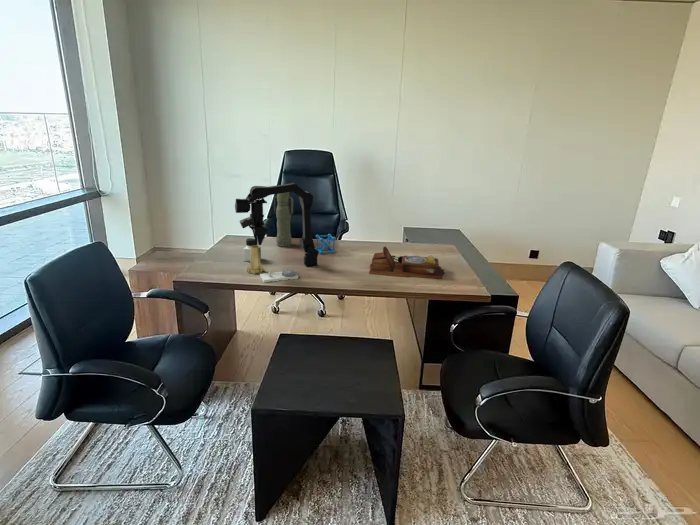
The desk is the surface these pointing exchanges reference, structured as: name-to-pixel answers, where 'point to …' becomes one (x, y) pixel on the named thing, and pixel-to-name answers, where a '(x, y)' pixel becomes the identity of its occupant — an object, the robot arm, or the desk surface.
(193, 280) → the desk surface
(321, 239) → the molecular structure
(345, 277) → the desk surface
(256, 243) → the white pill bottle
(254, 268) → the yellow octagonal tube
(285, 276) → the gear board
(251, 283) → the desk surface
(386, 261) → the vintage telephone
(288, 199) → the thermos
